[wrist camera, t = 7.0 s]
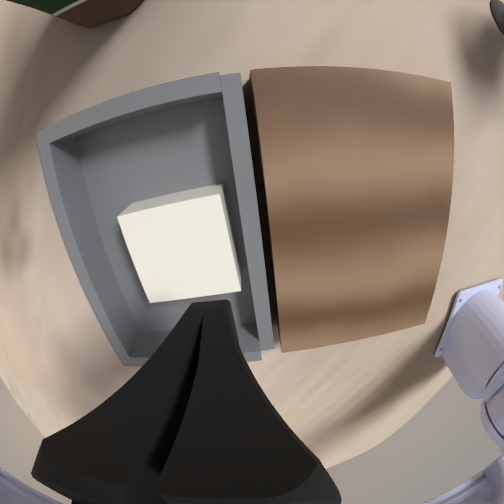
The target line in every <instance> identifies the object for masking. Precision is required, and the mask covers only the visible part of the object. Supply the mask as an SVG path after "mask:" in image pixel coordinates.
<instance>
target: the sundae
mask: <svg viewBox="0 0 504 504" xmlns="http://www.w3.org/2000/svg"><path fill="white" fill-rule="evenodd" d="M491 10H492V14H493V16H494V18H495V21H496V23H497V24H498V26H499V28H500V29H501V31H502V32H503V34H504V4H503V3H502V2H501V1H499V0H492V1H491Z"/></svg>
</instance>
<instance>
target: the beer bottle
mask: <svg viewBox="0 0 504 504" xmlns="http://www.w3.org/2000/svg"><path fill="white" fill-rule="evenodd" d="M7 1H11V2H15V3H18V4H22V5H25V6H28V7H31V8H34V9H37V10H40V11H43V12H46V13H49V14H52V15H54V16H57V17H60V18H62V19H65V20H67V21H70V22H72V23H75V24H77V25H80V26H83V27H87V28H93V27H96V26H98V25H101V24H103V23H106V22H108V21H111V20H114V19H116V18H119V17H122V16H125V15H128V14H130V13H131V12H132V11H133V10H134V9H135V8H136V7H137V6H138V5H139V4H140V2H141V1H142V0H7Z"/></svg>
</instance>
